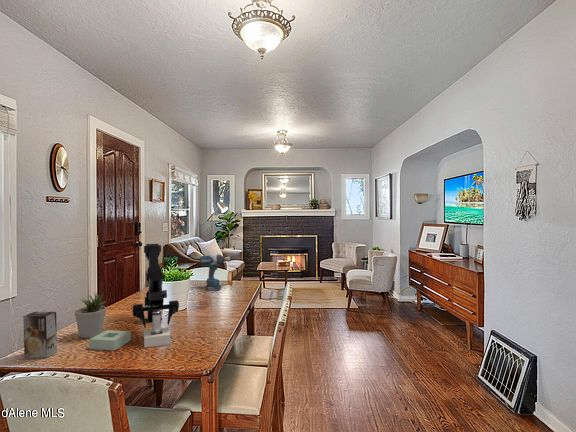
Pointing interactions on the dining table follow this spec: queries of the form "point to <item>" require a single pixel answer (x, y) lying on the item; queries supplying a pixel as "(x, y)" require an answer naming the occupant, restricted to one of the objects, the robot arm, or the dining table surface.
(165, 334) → the socket block
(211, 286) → the impact wrench
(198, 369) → the dining table surface
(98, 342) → the block
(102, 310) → the potted plant
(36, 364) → the dining table surface
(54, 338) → the coffee box
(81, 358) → the dining table surface
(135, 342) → the dining table surface
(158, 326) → the metal cylinder
